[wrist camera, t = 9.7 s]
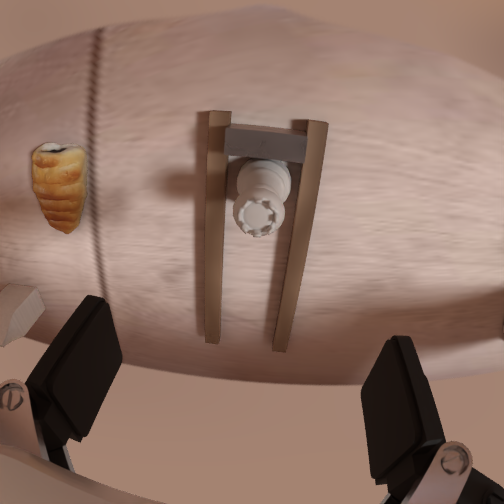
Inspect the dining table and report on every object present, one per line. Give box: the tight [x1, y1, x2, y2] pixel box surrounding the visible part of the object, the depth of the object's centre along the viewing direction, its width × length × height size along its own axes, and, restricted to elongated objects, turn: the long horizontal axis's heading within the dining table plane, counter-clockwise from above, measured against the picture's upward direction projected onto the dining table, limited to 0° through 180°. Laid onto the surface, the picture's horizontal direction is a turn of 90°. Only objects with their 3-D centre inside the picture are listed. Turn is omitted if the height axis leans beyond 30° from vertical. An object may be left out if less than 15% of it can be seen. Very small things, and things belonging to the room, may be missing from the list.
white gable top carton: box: [0, 284, 46, 347], centre depth 32 cm, size 4×7×10 cm, turn 92°
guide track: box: [205, 110, 329, 352], centre depth 28 cm, size 9×24×1 cm, turn 175°
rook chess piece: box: [233, 158, 291, 237], centre depth 22 cm, size 4×4×8 cm
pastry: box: [32, 143, 88, 234], centre depth 26 cm, size 9×7×4 cm
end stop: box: [224, 124, 308, 163], centre depth 23 cm, size 6×2×3 cm, turn 85°
